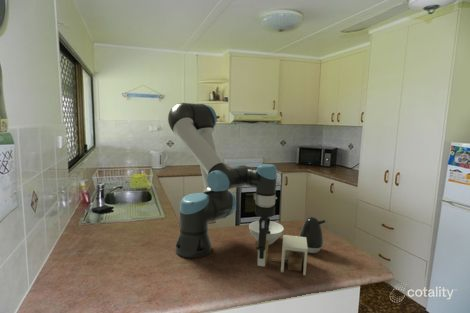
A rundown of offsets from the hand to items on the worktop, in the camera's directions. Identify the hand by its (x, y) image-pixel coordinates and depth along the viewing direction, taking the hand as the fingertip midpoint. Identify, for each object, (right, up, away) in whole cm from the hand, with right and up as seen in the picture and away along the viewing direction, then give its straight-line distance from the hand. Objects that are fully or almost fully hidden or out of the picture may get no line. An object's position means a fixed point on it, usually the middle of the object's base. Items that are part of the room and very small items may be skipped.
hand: (263, 257), depth 111 cm
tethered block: (+6, -3, -1) cm, 7 cm away
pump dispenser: (+22, -2, +12) cm, 25 cm away
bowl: (+3, 0, +20) cm, 20 cm away
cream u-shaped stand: (+11, -3, -2) cm, 12 cm away
